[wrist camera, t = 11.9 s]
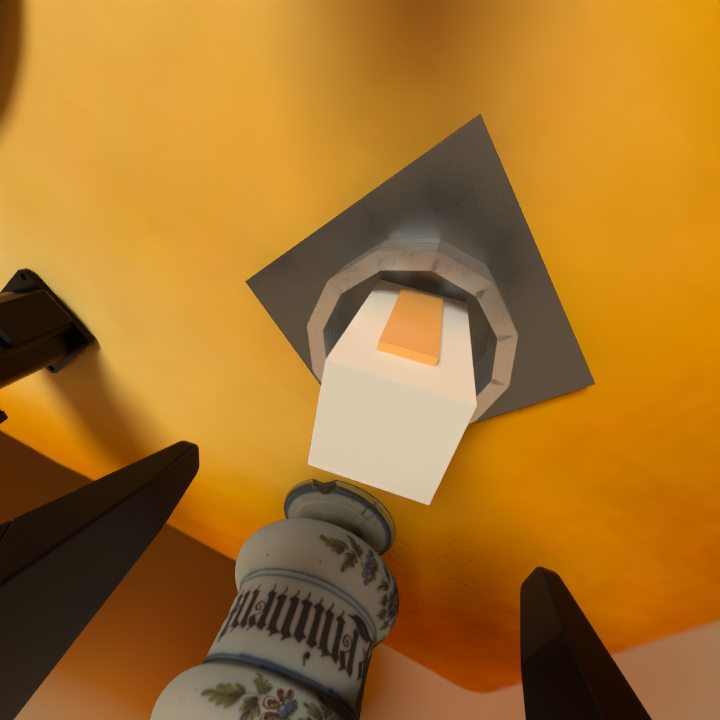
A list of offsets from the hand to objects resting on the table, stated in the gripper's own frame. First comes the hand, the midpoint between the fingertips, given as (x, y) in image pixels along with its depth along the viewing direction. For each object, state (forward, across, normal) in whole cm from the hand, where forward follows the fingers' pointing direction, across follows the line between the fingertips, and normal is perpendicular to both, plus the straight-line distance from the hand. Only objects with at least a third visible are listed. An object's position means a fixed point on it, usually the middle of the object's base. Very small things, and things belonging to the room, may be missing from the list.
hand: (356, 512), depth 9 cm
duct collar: (+13, 0, 0) cm, 13 cm away
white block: (+12, 0, 0) cm, 12 cm away
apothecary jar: (+13, +1, +19) cm, 23 cm away
